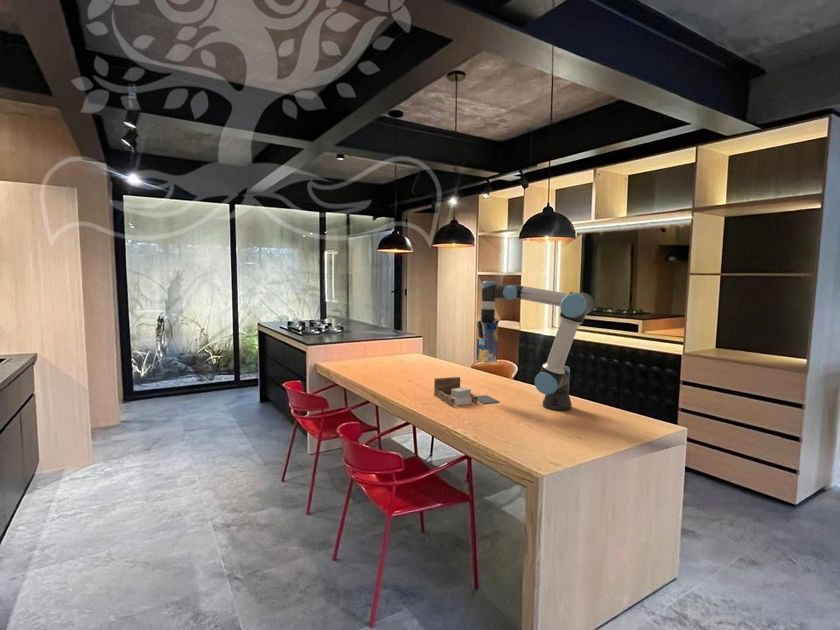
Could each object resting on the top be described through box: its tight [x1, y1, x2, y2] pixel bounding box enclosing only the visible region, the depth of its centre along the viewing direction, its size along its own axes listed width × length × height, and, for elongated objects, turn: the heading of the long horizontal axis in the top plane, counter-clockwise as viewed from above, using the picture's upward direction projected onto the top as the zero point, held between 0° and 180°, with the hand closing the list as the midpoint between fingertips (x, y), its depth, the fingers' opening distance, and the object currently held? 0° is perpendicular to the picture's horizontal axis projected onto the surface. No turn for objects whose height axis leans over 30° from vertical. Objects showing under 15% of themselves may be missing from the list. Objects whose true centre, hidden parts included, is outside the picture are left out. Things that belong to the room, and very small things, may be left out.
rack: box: [433, 376, 479, 407], centre depth 259 cm, size 24×16×10 cm
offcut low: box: [449, 395, 472, 406], centre depth 253 cm, size 7×10×4 cm
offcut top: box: [451, 386, 472, 399], centre depth 253 cm, size 6×9×4 cm, turn 125°
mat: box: [476, 394, 500, 405], centre depth 260 cm, size 14×10×1 cm
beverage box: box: [476, 322, 499, 364], centre depth 257 cm, size 7×11×22 cm, turn 21°
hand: (486, 350), depth 257 cm, fingers closed on beverage box, 2 cm apart
